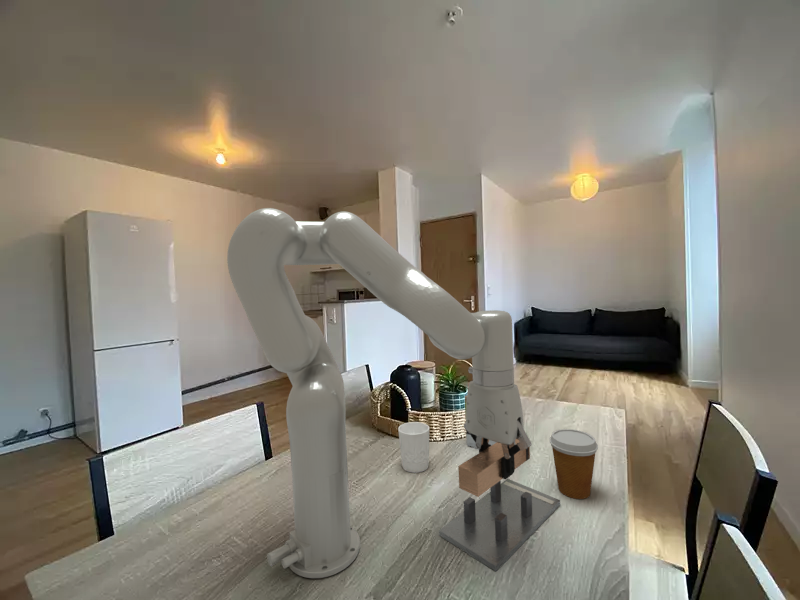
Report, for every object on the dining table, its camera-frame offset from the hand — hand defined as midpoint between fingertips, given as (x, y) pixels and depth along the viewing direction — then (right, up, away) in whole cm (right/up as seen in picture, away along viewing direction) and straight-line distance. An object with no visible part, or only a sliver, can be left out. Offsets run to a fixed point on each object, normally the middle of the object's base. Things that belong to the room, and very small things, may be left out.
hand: (496, 470), depth 68 cm
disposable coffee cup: (+20, -9, +10) cm, 24 cm away
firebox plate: (+2, -10, +2) cm, 11 cm away
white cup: (-14, -10, +24) cm, 30 cm away
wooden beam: (0, 0, 0) cm, 0 cm away
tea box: (+9, -9, +37) cm, 39 cm away
